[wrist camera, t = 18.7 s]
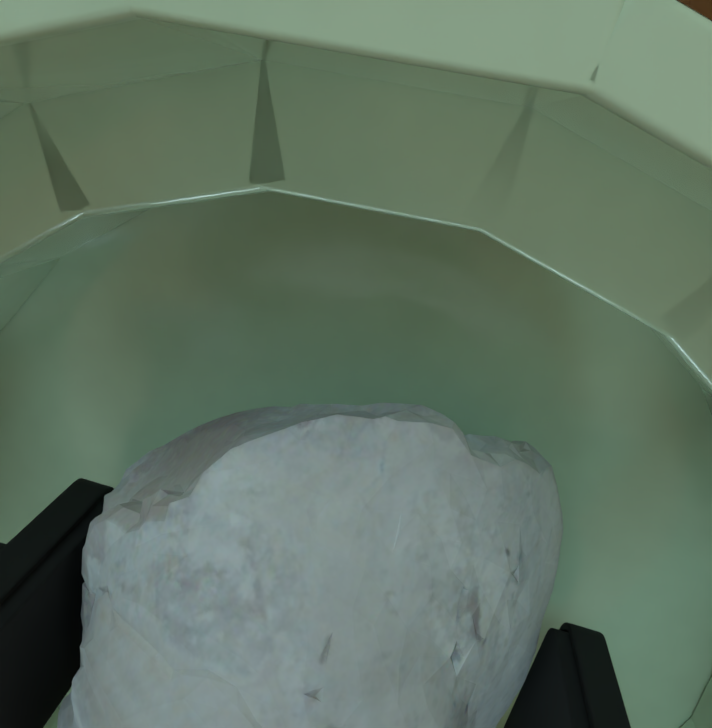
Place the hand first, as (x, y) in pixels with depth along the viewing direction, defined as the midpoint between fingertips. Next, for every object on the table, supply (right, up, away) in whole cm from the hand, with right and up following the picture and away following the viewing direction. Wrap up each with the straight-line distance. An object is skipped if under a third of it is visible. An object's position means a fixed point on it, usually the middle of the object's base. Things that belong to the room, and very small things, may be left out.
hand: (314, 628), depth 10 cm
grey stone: (0, +1, +1) cm, 1 cm away
